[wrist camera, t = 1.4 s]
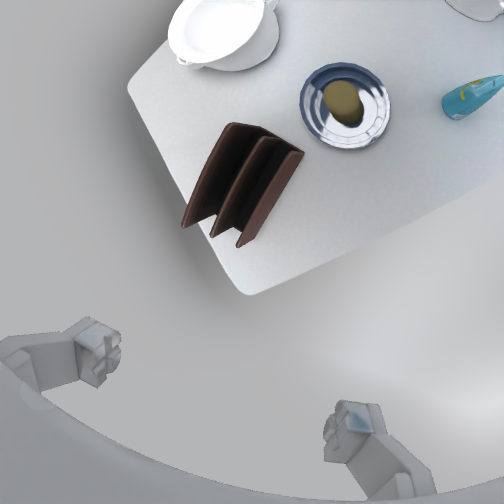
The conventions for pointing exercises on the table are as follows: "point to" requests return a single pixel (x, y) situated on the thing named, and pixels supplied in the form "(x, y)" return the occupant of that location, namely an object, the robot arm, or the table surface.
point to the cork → (343, 102)
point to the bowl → (321, 117)
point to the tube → (471, 96)
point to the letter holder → (242, 180)
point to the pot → (223, 33)
